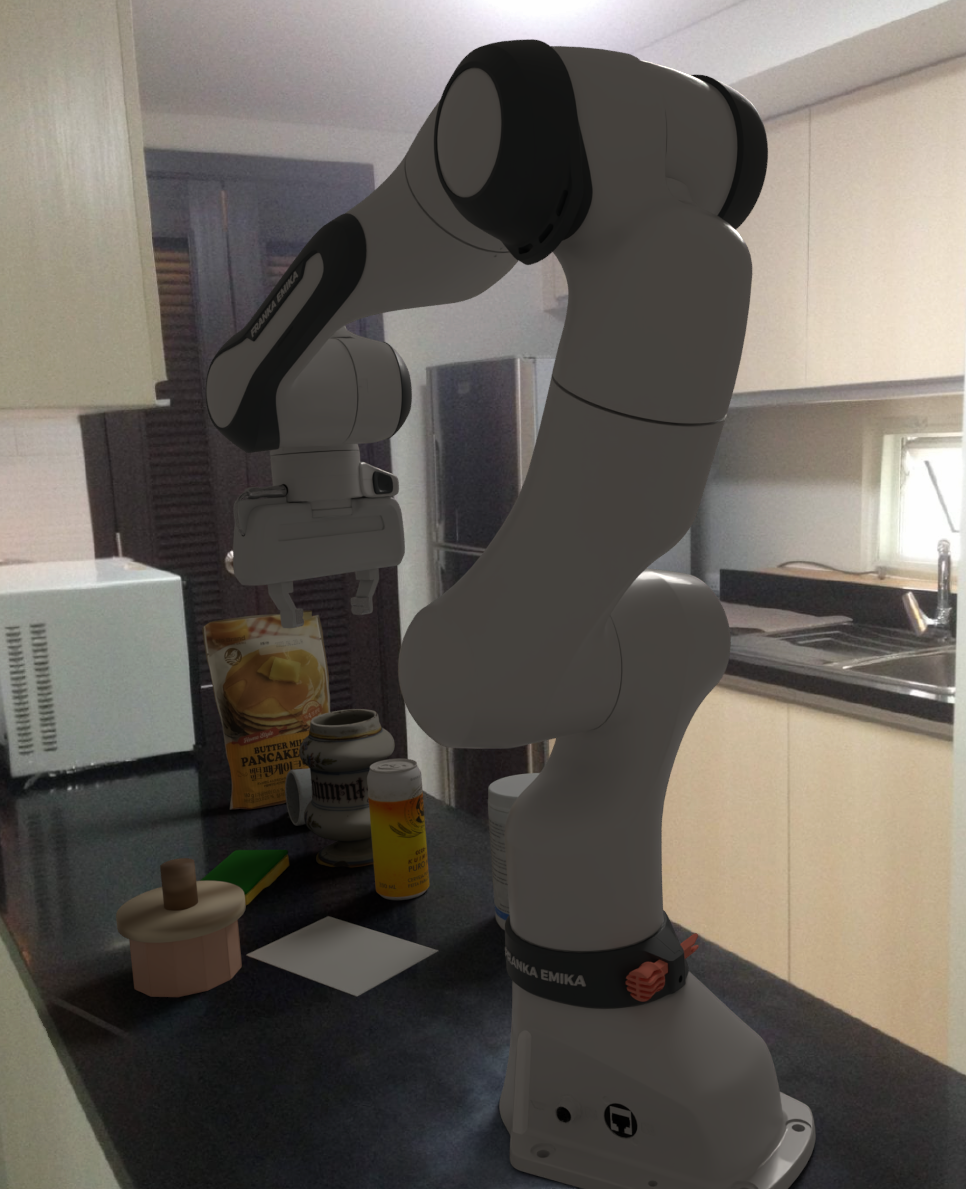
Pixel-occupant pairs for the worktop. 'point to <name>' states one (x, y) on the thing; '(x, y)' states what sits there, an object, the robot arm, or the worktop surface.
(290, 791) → the ceramic mug
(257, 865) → the dish sponge
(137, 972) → the bowl
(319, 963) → the mat
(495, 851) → the supplement tub
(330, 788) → the apothecary jar
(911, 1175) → the worktop surface
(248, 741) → the pancake mix bag
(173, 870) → the lid
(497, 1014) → the worktop surface
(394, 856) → the beer can
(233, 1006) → the worktop surface
